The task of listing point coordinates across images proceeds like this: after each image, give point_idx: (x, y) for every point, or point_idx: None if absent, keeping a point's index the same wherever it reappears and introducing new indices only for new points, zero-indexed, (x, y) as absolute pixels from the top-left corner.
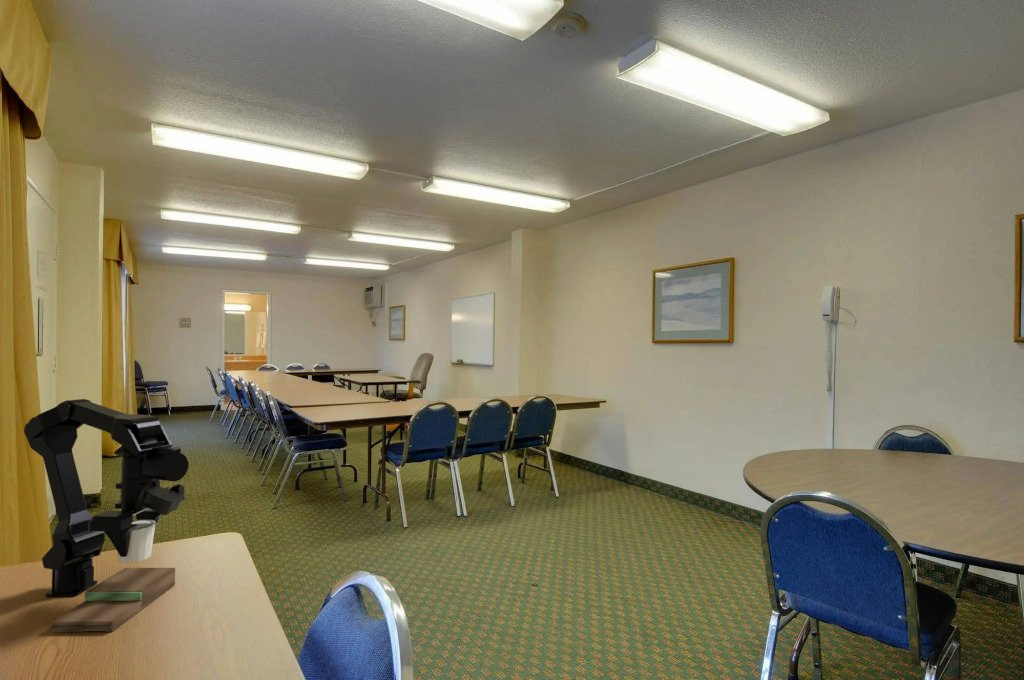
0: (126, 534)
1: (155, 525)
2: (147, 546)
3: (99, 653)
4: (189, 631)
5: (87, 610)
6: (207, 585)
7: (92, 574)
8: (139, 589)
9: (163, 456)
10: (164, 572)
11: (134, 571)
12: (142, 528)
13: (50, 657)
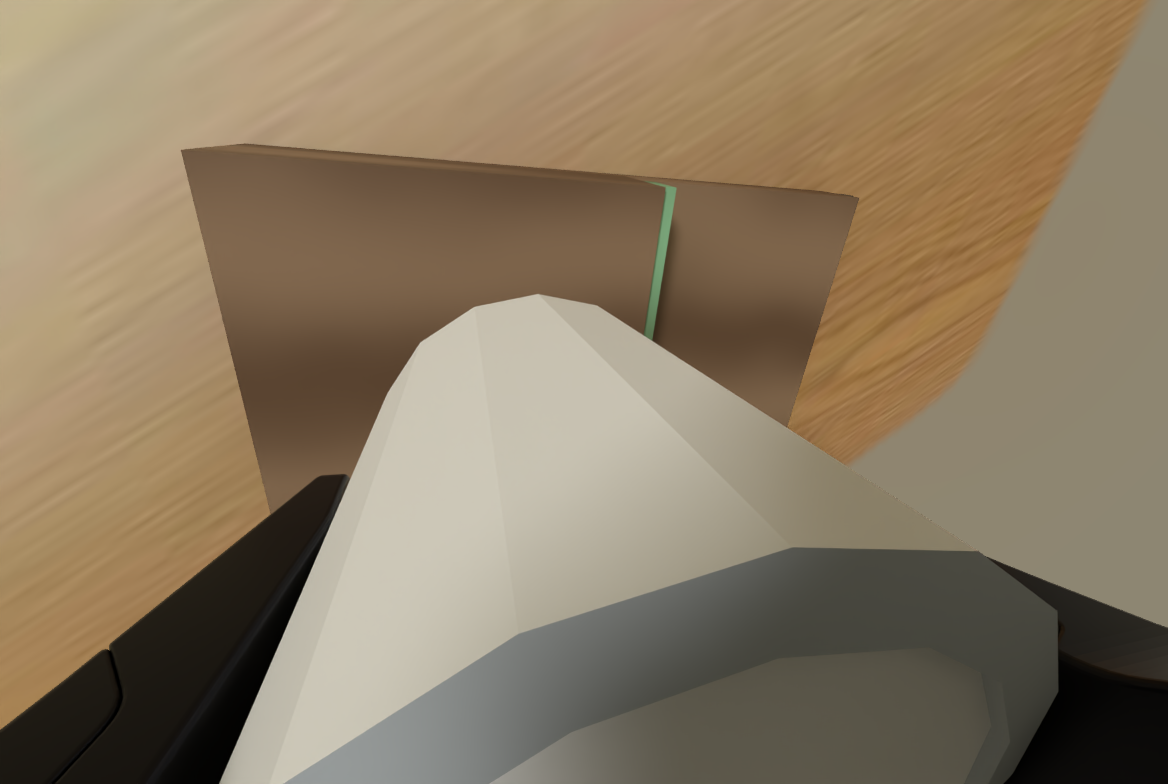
0: (1153, 636)
1: (59, 694)
2: (624, 340)
3: (989, 127)
4: None
5: None
6: None
7: None
8: (643, 217)
9: None
10: (317, 198)
11: (330, 450)
12: (1039, 602)
13: (933, 313)
